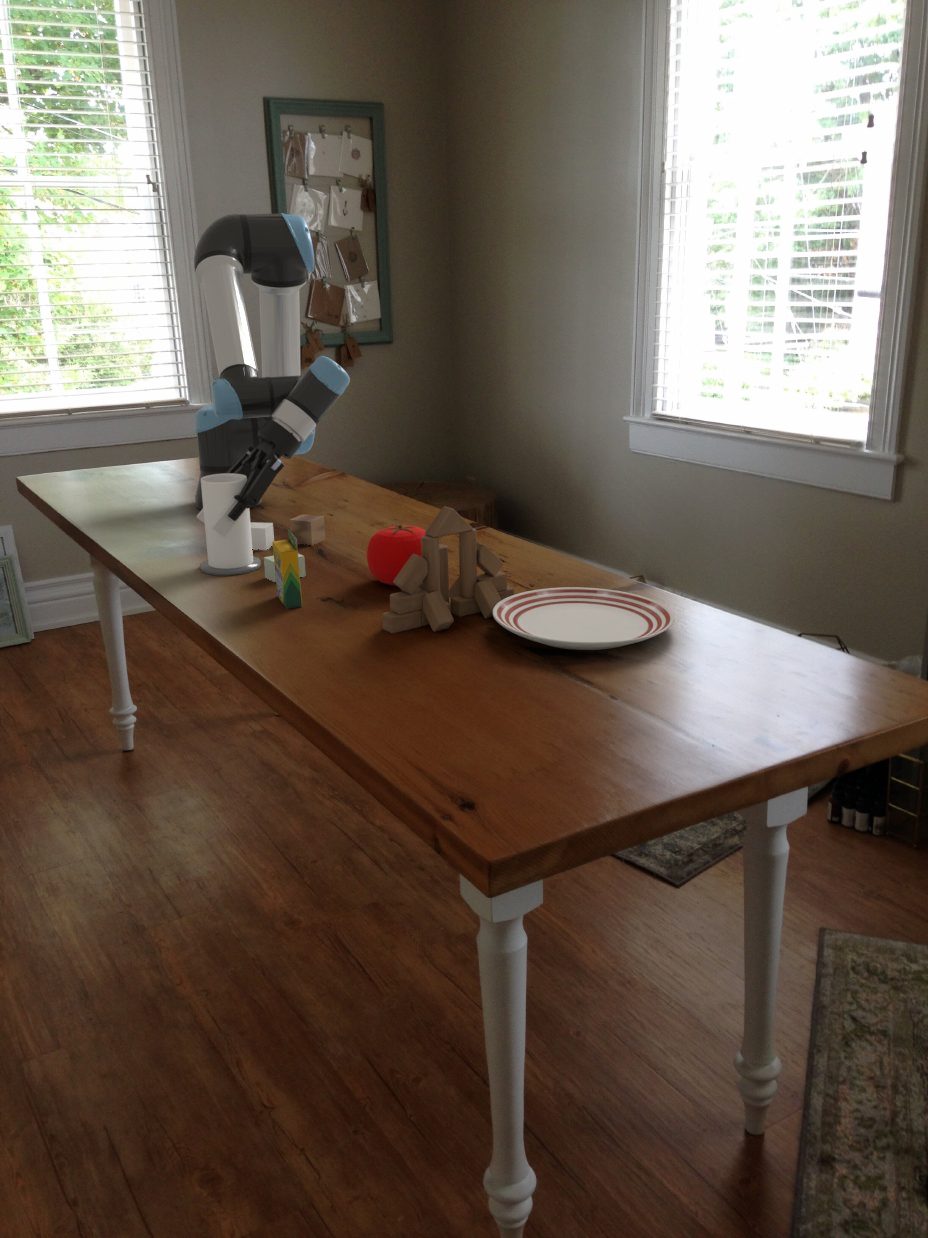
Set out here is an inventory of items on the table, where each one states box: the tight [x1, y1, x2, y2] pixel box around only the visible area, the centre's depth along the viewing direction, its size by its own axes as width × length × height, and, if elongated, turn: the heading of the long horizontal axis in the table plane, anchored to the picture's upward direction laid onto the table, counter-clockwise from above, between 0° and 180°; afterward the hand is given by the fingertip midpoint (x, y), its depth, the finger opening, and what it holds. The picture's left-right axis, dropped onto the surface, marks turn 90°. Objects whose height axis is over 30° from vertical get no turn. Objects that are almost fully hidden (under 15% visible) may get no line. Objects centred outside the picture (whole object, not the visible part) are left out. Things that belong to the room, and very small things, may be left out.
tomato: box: [366, 524, 426, 587], centre depth 182 cm, size 12×12×10 cm
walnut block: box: [289, 513, 326, 547], centre depth 210 cm, size 5×5×5 cm
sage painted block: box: [263, 553, 307, 583], centre depth 187 cm, size 4×6×4 cm, turn 128°
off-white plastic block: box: [250, 521, 275, 551], centre depth 207 cm, size 4×4×4 cm
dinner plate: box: [492, 586, 675, 651], centre depth 159 cm, size 28×27×3 cm
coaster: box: [199, 555, 262, 577], centre depth 194 cm, size 11×11×1 cm
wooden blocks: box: [382, 506, 515, 634], centre depth 164 cm, size 25×12×18 cm, turn 125°
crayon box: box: [272, 528, 303, 610], centre depth 172 cm, size 7×3×12 cm, turn 21°
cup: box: [201, 473, 254, 569], centre depth 191 cm, size 8×8×16 cm
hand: (209, 526), depth 190 cm, fingers open, 9 cm apart
